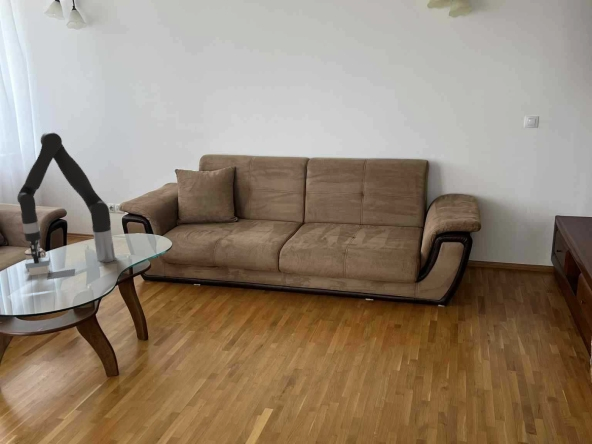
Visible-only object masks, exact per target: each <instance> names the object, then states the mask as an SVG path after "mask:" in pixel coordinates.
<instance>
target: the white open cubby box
mask: <svg viewBox="0 0 592 444" xmlns="http://www.w3.org/2000/svg"><path fill="white" fill-rule="evenodd" d="M27 270H28V273H29V276H36V275H41V274H48V273H50V270H51V269H50V265H48V266H41V267H34V268H27Z"/></svg>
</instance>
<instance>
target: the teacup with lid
mask: <svg viewBox="0 0 592 444" xmlns="http://www.w3.org/2000/svg"><path fill="white" fill-rule="evenodd" d="M34 254H35V253H34ZM24 255H25V261H26V260H30V259H33V257H32V254H31V249H30V248H29V249H27V250H25V251H24ZM46 255H47V253H46V250H44V249H43V248H42V247H40V256H41V257H40V258H44V257H47V256H46Z"/></svg>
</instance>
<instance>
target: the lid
mask: <svg viewBox="0 0 592 444" xmlns="http://www.w3.org/2000/svg"><path fill="white" fill-rule="evenodd" d="M38 259H39V263H36V264H35V263H34V259H30V260H26V259H25V263H24V264H25V269H27V270H28V268H34V267H41V266H48V265H49V266H50V264H51V259H50V256H46V257H44V258H38Z"/></svg>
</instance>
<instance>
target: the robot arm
mask: <svg viewBox="0 0 592 444" xmlns="http://www.w3.org/2000/svg"><path fill="white" fill-rule="evenodd" d="M40 144H41V148H40V151H39V154H38V156H37V158H36V160H35V162H34V164H32V166H31V168H30V171H29V172H28V175H27V176H26V179H25V181H24V184H23V185H22V187H21V188H20V191H18V194H17V202H18V203H19V206H20V210H21V213H20V217H21V221H22V222H21V223H22V230H23V236H24V239H25V240H24V241H26V242H30V244H29V249H31V254H32V257H33V259H34V263H35V264H36V263H39V259H38V258H40V257H41V256H40V248H41V246H40V241H39V240H41V239H42V234H41V233H42V232H41V229H40V224H39V221H38V220H39V219H38V215H37V211H36V200H35V197H34V196H35V194H36V192H37V191H38V190H39V189H40V187H41V185H42V182H43V181H44V178H45V176H46V173H47V172H48V171H47V170H48V169H49V166H50V164H51V163H52V160H54V161H55V162H56V164H57V166H58V168H59V170H60V171H61V172H60V173H62V175H63V177H64V178H65V179H66V181H67V183H68V184H69V185H70V186H71V187H72V189H73V190H74V191H75V192H76V193H77V194H78V195H79V196H80V198H82V200H83V201H84V204H85V205H86V207H87V209H88V211H89V213H90V217H91V223H92V231H93V232H92V233H93V239H94V246H95V252H96V259H97V261H98V262H103V263H110V262H113V260H114V261H116V255H115V254H116V253H115V248H114V247H115V246H114V241H113V235H112V234H113V233H112V227H111V223H112V221H111V215H110V214H111V213H110V209H109V206H108V205H107V203H105V201H103V200H102V198H101V197H100V196H99V194H98V193H96V191H95V190H94V188H93V185H92V184H91V182H90V180H89V178H88V176H87V175H86V173H85V171H84V170H83V169H82V167H81V166H80V165H79V163H77V162H76V160H75V159H74V158H73V157H72V156H71V155H70V154H69V153H68V151H67V150H66V148H65V147H64V145H63V140H62V138H61V136H60V134H58V133H56V132H53V131H45V132H44V133H43V134H42V135H41V137H40ZM34 253H35V254H34Z"/></svg>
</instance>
